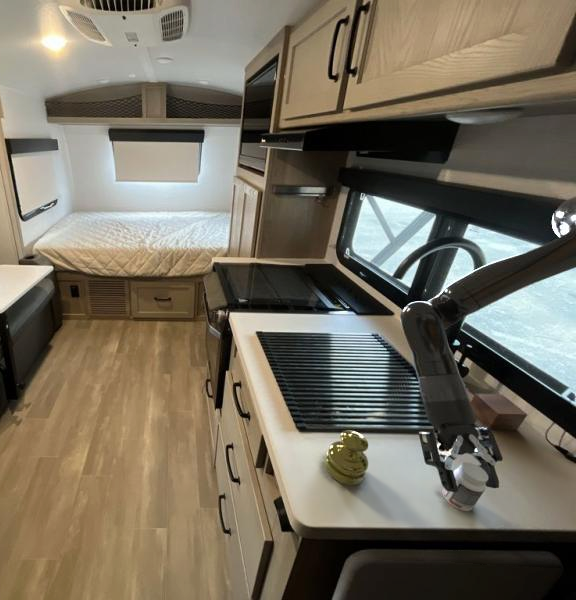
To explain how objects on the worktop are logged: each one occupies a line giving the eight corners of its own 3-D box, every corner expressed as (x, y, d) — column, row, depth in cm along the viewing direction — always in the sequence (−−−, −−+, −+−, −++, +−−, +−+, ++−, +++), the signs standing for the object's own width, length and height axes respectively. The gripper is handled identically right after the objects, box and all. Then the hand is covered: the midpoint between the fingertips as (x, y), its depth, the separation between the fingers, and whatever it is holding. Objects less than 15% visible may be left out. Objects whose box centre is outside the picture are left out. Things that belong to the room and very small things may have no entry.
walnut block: (517, 429, 82) (527, 414, 79) (489, 428, 82) (498, 413, 79) (493, 408, 88) (502, 394, 86) (467, 407, 88) (475, 393, 86)
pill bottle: (478, 510, 63) (499, 481, 59) (457, 513, 62) (476, 484, 59) (456, 486, 67) (474, 458, 64) (435, 489, 67) (452, 461, 63)
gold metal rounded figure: (317, 456, 73) (328, 422, 68) (349, 453, 74) (362, 420, 69) (335, 487, 66) (348, 453, 62) (370, 485, 67) (385, 450, 63)
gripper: (428, 400, 62) (456, 498, 57) (494, 395, 64) (527, 490, 59) (399, 401, 70) (421, 488, 64) (459, 397, 71) (486, 482, 66)
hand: (472, 489), depth 62 cm, fingers open, 8 cm apart
